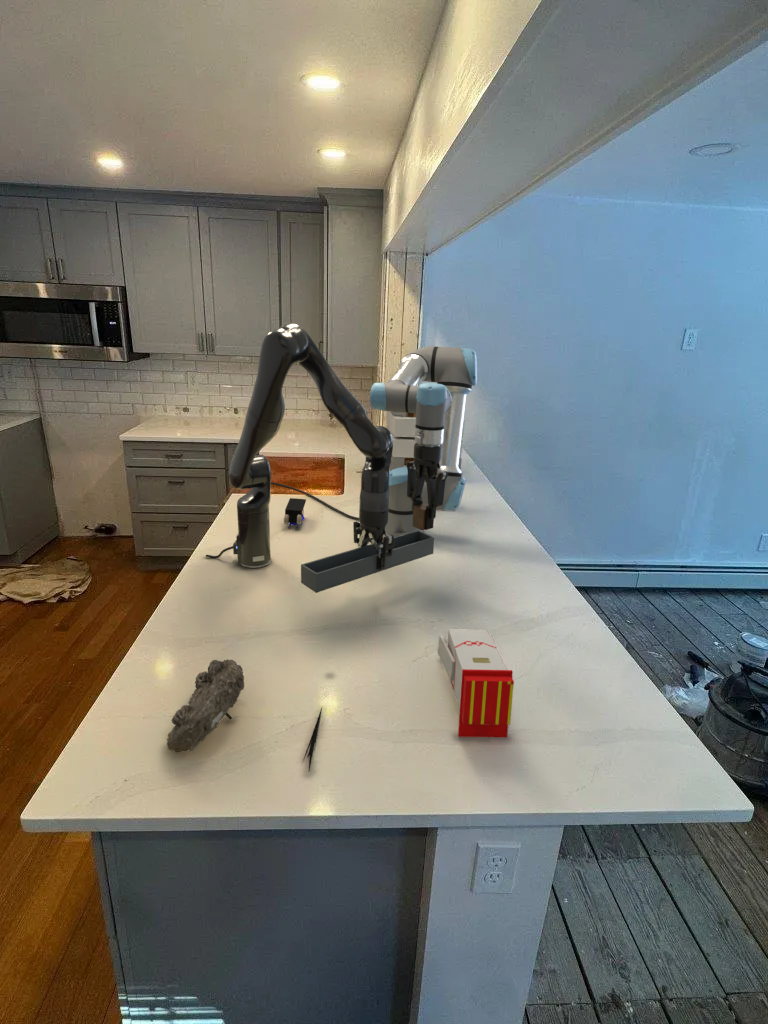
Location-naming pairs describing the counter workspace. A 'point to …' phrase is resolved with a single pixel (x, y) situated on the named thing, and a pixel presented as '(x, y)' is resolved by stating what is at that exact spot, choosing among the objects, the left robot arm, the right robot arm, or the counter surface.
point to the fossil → (206, 705)
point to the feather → (313, 740)
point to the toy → (478, 682)
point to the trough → (363, 561)
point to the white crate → (405, 438)
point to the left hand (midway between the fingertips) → (371, 564)
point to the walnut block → (419, 516)
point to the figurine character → (294, 512)
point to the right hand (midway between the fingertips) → (422, 525)
